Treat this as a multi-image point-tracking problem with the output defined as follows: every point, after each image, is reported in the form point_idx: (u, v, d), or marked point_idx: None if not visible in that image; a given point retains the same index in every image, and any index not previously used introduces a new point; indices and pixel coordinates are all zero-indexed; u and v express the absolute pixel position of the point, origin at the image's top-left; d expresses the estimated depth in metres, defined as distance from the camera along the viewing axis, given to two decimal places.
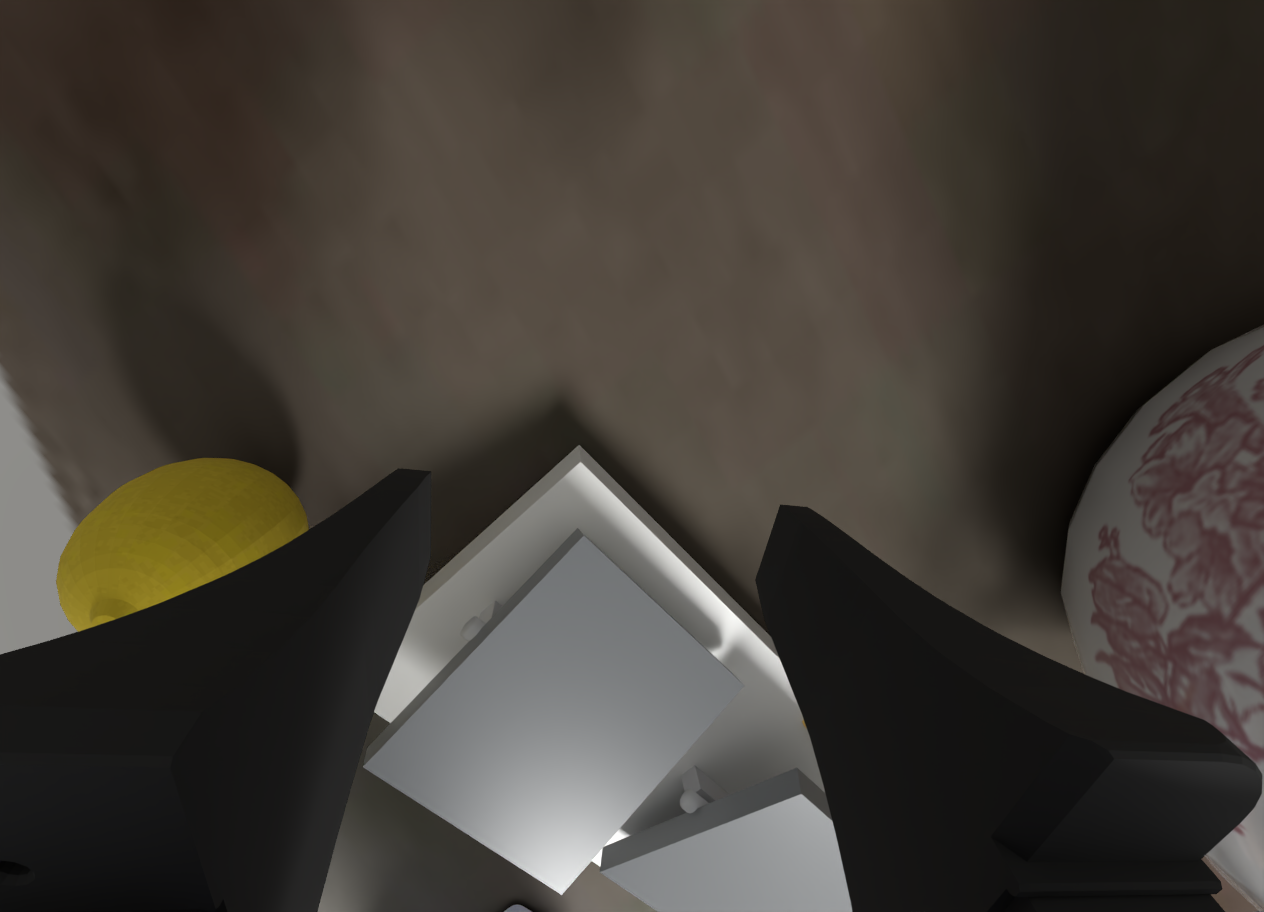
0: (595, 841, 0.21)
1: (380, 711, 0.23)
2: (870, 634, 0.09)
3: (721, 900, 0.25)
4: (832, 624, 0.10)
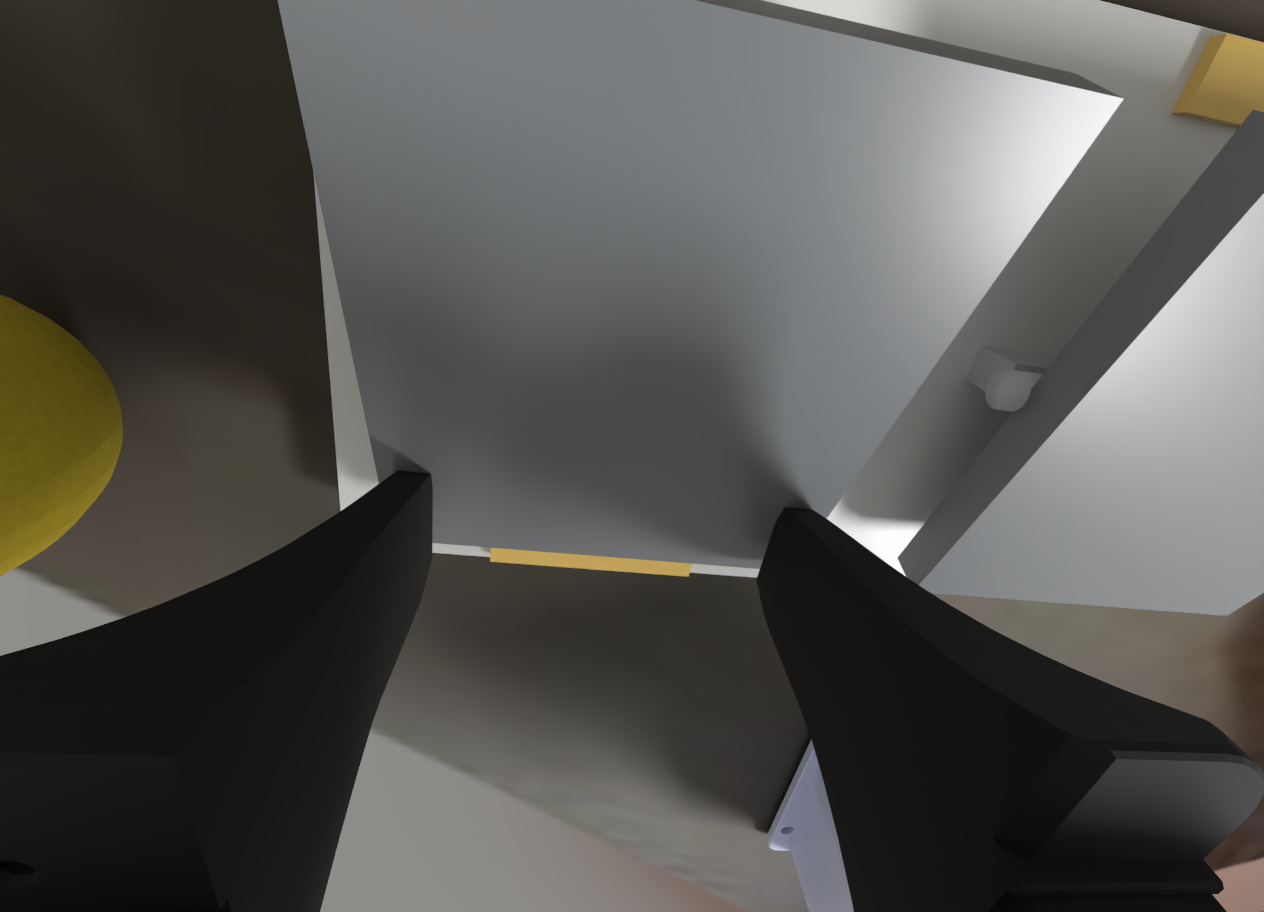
0: None
1: (435, 546, 0.14)
2: (871, 634, 0.09)
3: (1173, 526, 0.12)
4: (833, 624, 0.10)
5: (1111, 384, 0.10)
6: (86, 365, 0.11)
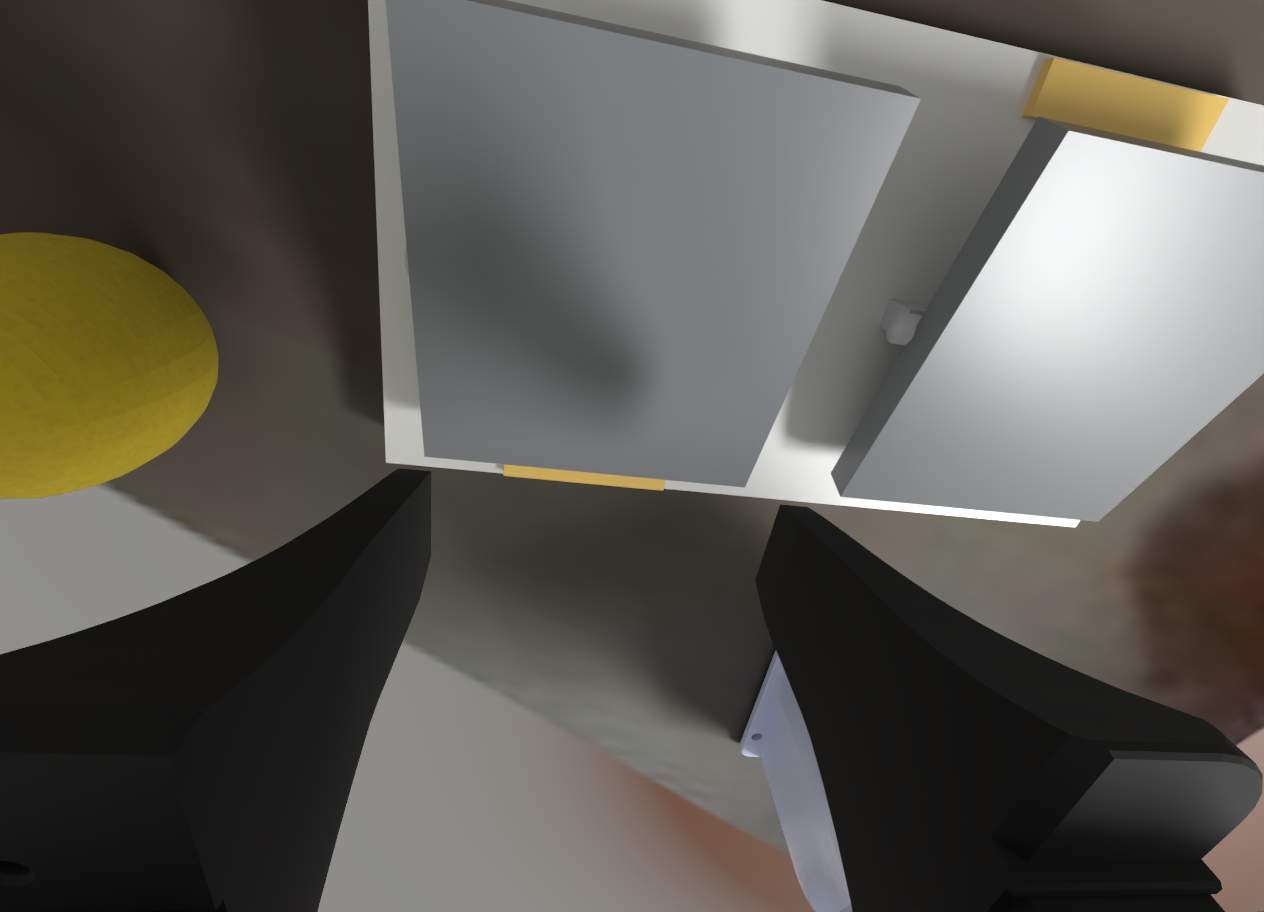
0: (754, 429, 0.15)
1: (459, 463, 0.18)
2: (870, 634, 0.09)
3: (1036, 437, 0.16)
4: (832, 624, 0.10)
5: (964, 317, 0.13)
6: (197, 309, 0.15)
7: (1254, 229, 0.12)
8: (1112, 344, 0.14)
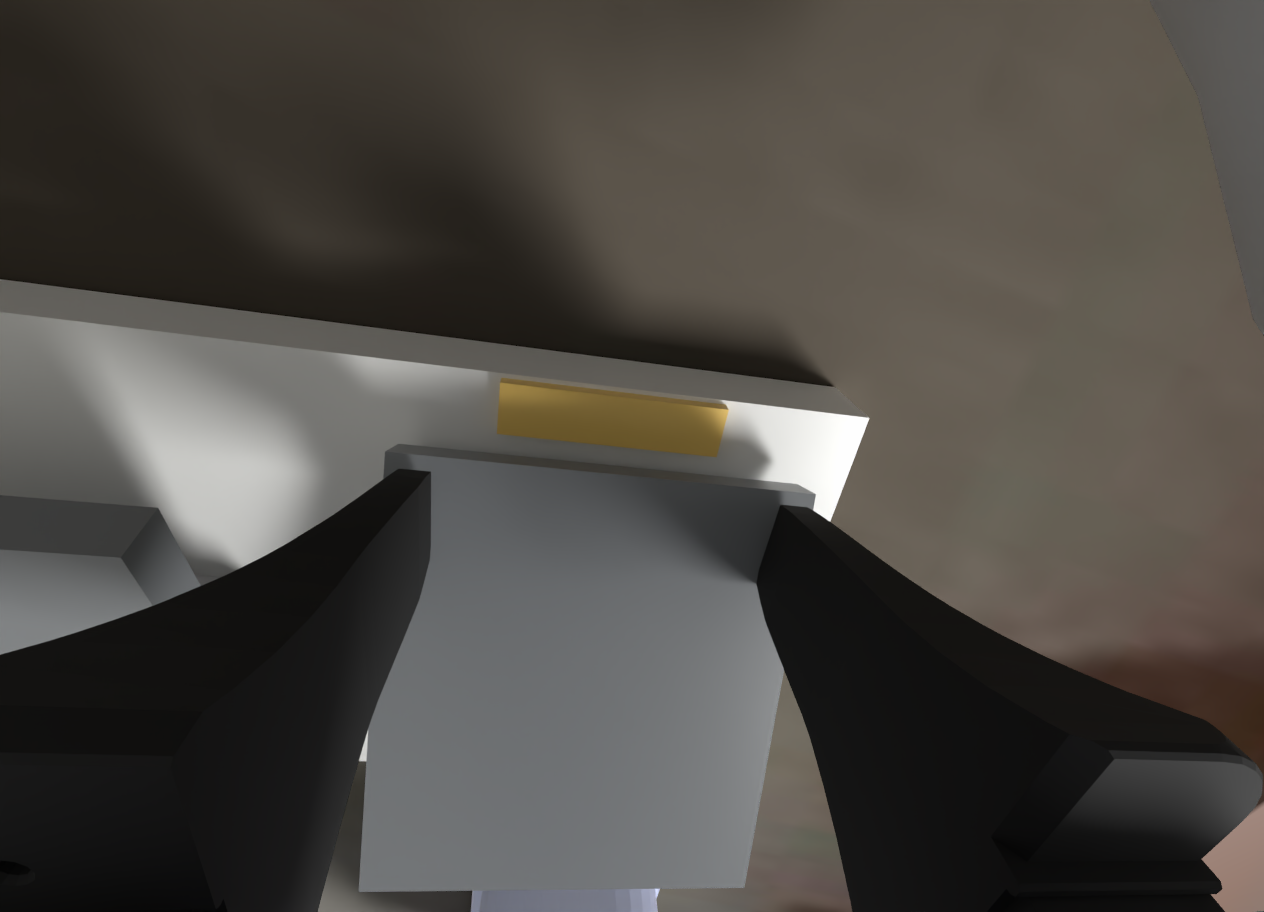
0: None
1: None
2: (870, 634, 0.09)
3: (574, 775, 0.13)
4: (832, 624, 0.10)
5: None
6: None
7: (641, 523, 0.12)
8: (583, 650, 0.13)
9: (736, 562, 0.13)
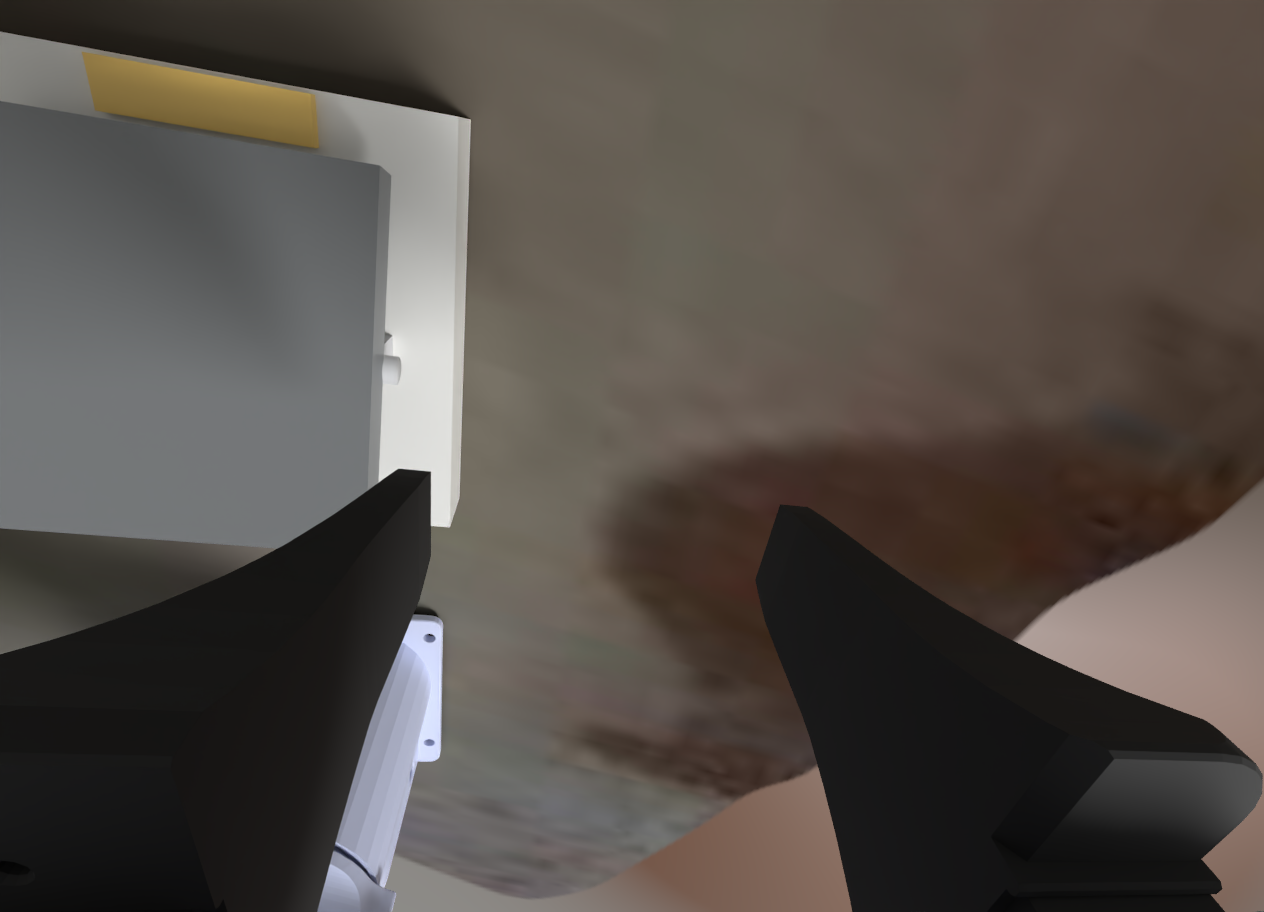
0: None
1: None
2: (870, 634, 0.09)
3: (181, 430, 0.15)
4: (832, 623, 0.10)
5: None
6: None
7: (209, 182, 0.14)
8: (171, 307, 0.14)
9: (309, 229, 0.14)
